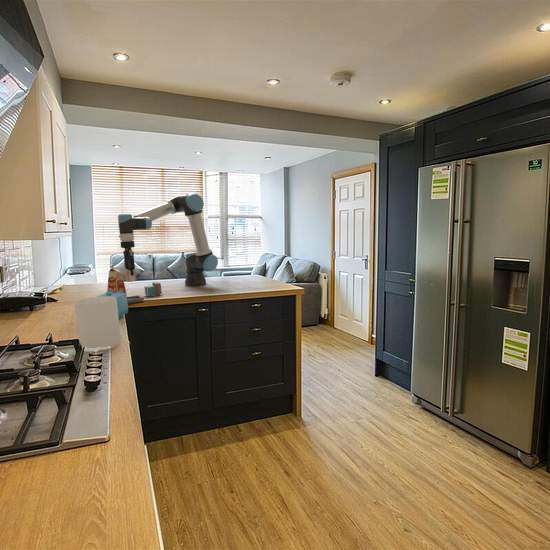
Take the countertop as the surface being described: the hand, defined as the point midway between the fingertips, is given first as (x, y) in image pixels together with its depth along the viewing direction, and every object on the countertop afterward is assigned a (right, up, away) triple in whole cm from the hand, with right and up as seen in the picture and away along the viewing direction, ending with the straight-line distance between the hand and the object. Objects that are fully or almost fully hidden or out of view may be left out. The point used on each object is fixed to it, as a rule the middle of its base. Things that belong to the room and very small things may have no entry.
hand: (130, 280), depth 227 cm
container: (+17, -24, -77) cm, 83 cm away
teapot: (+5, -19, -36) cm, 41 cm away
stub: (0, 0, 0) cm, 0 cm away
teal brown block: (+7, -10, +19) cm, 22 cm away
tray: (+1, -13, +2) cm, 13 cm away
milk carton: (-15, -11, +17) cm, 25 cm away
